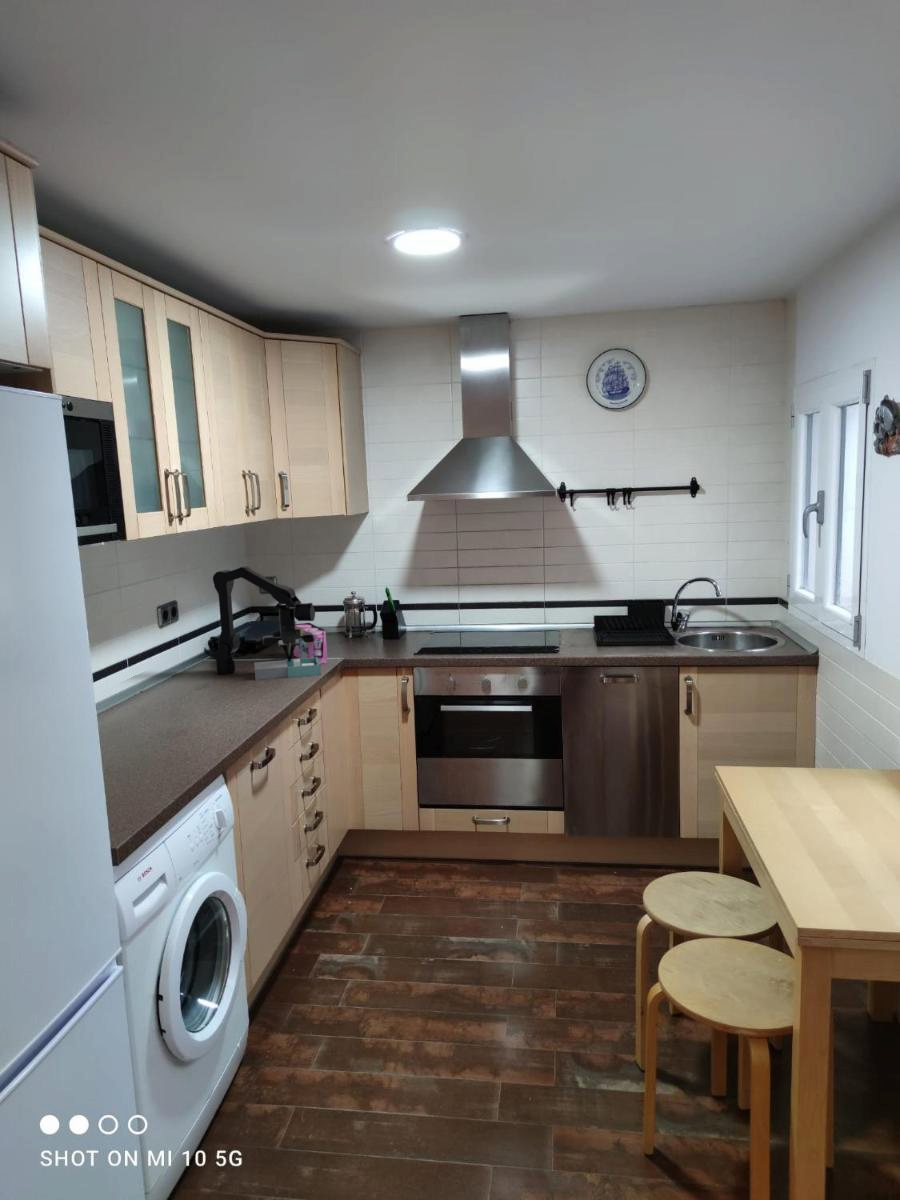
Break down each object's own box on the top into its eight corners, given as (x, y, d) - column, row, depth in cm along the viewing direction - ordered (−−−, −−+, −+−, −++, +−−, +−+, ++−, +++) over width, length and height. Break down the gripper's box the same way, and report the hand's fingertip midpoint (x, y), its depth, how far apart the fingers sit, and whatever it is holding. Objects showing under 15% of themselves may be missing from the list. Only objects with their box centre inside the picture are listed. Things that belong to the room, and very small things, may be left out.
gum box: (329, 664, 314) (327, 630, 312) (310, 666, 310) (308, 632, 308) (311, 653, 335) (309, 622, 333) (293, 655, 331) (291, 624, 330)
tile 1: (293, 661, 296) (300, 661, 297) (293, 659, 301) (299, 658, 301) (294, 673, 297) (300, 672, 298) (293, 670, 301) (300, 670, 302)
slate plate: (255, 679, 290) (254, 669, 289) (254, 672, 301) (254, 662, 301) (288, 677, 293) (287, 666, 292) (286, 670, 304) (286, 660, 304)
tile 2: (314, 665, 298) (314, 671, 298) (313, 663, 302) (313, 669, 303) (302, 666, 297) (302, 672, 297) (301, 663, 301) (302, 670, 302)
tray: (288, 677, 292) (287, 667, 291) (286, 669, 305) (285, 659, 305) (320, 675, 295) (320, 664, 294) (317, 667, 308) (317, 657, 308)
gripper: (262, 626, 286) (264, 667, 288) (314, 622, 290) (316, 663, 293) (261, 621, 296) (264, 661, 299) (311, 618, 301) (313, 657, 303)
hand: (289, 661), depth 298 cm, fingers closed
